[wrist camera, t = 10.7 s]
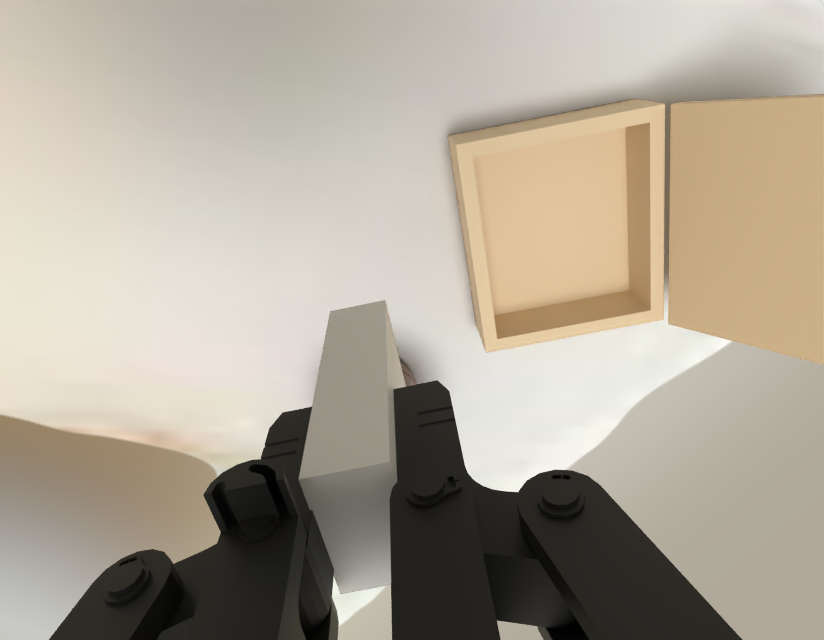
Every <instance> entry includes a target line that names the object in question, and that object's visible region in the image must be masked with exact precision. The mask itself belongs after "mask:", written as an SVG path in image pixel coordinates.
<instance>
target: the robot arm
mask: <svg viewBox="0 0 824 640" xmlns="http://www.w3.org/2000/svg"><path fill="white" fill-rule="evenodd" d="M204 497H205V499H206V501H207V504H208V506H209V508H210V510H211V512H212V514H213V516H214V519H215V521H216V523H217V525H218V527H219V529H220V531H221V534H220V537H219V540H218V543H217V544H215V545H213V546H212V547H210V548H208V549H206V550H204V551H202V552H200V553H198V554H195V555H193V556H191V557H188V558H186V559H184V560H182V561H179V562H177V563H175V564H173V563H172V561H171V559H170V558H169V557H168V556H167V555H166V554H165V552H162V551H158V550H154V549H151V550H145V551H139V552H136V553H134V554H131V555H129V556H127V557H124V558H122V559H120V560H119V561H117V562H116V563H115V564H113V565H112V566H110V567H109V568H107V569H106V570H105V571H104V572H103V573H102V574H101V575H100V576H99V577H98V578H97V579H96V580H95V581H94V582H93V583H92V585H91V586H90V587H89V589H88V590H87V591H86V592H85V594H84V595H83V597H82V598H81V599H80V600H79V602H78V603H77V604H76V606H75V607H74V608H73V609H72V611H71V612H70V613H69V614H68V616H67V617H66V618H65V620H64V621H63V622H62V623H61V625H60V626H59V627H58V629H57V630H56V631H55V633H54V634H53V635H52V636H51V638H50V639H49V640H337V637H338V616H337V610H336V607H335V605H334V602H333V599H332V587H333V576H334V577H335V580H336V583H337V586H338V588H339V591H340V594H343V593H349V592H354V591H360V590H365V589H370V588H376V587H381V586H387V585H391V599H392V640H500V635H499V631H498V625H497V620H498V621H505V622H512V623H519V624H527V625H533V626H537V627H538V630H539V632H540V634H541V636H542V637H543V639H544V640H742V639H741V638H740V637H739V636H738V635H737V634H736V632H735V631H734V630H733V629H732V628H731V627H730V626H729V625H728V624H727V623H726V622H725V621H724V620H723V618H722V617H721V616H720V615H719V614H718V613H717V612H716V611H715V610H714V609H713V607H712V606H711V605H710V604H709V603H708V602H707V601H706V600H705V599H704V598H703V597H702V596H701V594H700V593H699V592H698V591H697V590H696V589H695V588H694V587H693V586H692V585H691V584H690V582H689V581H688V580H687V579H686V578H685V577H684V576H683V575H682V574H681V573H680V572H679V571H678V570H677V568H676V567H675V566H674V565H673V564H672V563H671V562H670V561H669V560H668V559H667V558H666V556H665V555H664V554H663V553H662V552H661V551H660V550H659V549H658V548H657V547H656V546H655V544H654V543H653V542H652V541H651V540H650V539H649V538H648V537H647V536H646V535H645V534H644V533H643V531H642V530H641V529H640V528H639V527H638V526H637V525H636V524H635V523H634V522H633V521H632V520H631V518H630V517H629V516H628V515H627V514H626V513H625V512H624V511H623V510H622V509H621V508H620V506H619V505H618V504H617V503H616V502H615V501H614V500H613V499H612V498H611V497H610V496H609V495H608V493H607V492H606V491H605V490H604V489H603V488H602V487H601V486H600V485H599V484H598V483H596V482H595V481H593V480H592V479H591V478H590V477H588V476H586V475H584V474H580V473H578V472H574V471H568V470H552V471H548V472H543V473H539V474H538V475H536V476H534V477H532V478H531V479H529V480H527V481H526V483H525V484H524V485H523V486H522V488H521V489H520V490H519V492H504V491H498V490H492V489H489V488H487V487H484V486H482V485H480V484H479V483H477V482H476V481H474V480H473V479H472V478H471V477H470V475H469V474H468V473H467V470H466V468H465V465H464V460H463V455H462V450H461V446H460V441H459V436H458V431H457V426H456V421H455V417H454V412H453V407H452V402H451V397H450V393H449V391H448V390H447V389H446V388H445V387H444V386H443V385H442V384H441V383H440V382H438V381H432V382H427V383H422V384H417V385H412V386H407V387H406V385H405V381H404V376H403V372H402V368H401V364H400V360H399V355H398V351H397V347H396V343H395V339H394V335H393V330H392V326H391V322H390V318H389V314H388V309H387V305H386V301H385V300H384V301H379V302H374V303H369V304H364V305H360V306H355V307H350V308H345V309H340V310H335V311H330V315H329V320H328V326H327V331H326V336H325V342H324V347H323V352H322V358H321V363H320V368H319V373H318V379H317V384H316V389H315V395H314V400H313V405H312V407H309V408H304V409H299V410H294V411H289V412H284V413H282V414H281V415H280V416H279V418H278V419H277V420H276V421H275V422H274V424H273V425H272V426H271V427H270V428H269V432H268V435H267V439H266V442H265V448H264V449H263V452H262V456H261V459H260V460H250V461H247V462H244V463H241V464H238V465H236V466H234V467H232V468H230V469H228V470H227V471H225V472H223V473H222V474H221V475H219V476H218V477H217V478H216V479H215V480H214V481H213V482H212V483H211V484H210V485H209V487H208V488H207V490H206V492H205V493H204Z"/></svg>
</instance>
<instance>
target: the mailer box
mask: <svg viewBox="0 0 824 640" xmlns="http://www.w3.org/2000/svg"><path fill="white" fill-rule="evenodd" d="M448 141H449V148H450V154H451V161H452V168H453V174H454V181H455V188H456V194H457V201H458V207H459V214H460V221H461V227H462V234H463V241H464V247H465V254H466V261H467V267H468V274H469V281H470V287H471V294H472V300H473V307H474V314H475V320H476V326H477V329H478V332H479V334H480V337H481V340H482V343H483V346H484V348H485V351H486V353H487V352H492V351H498V350H503V349H509V348H514V347H519V346H525V345H530V344H535V343H541V342H546V341H551V340H557V339H562V338H567V337H573V336H578V335H584V334H589V333H594V332H600V331H605V330H610V329H616V328H621V327H626V326H632V325H637V324H642V323H648V322H653V321H659V320H664V187H665V104H664V103H658V102H652V101H645V100H639V99H630V100H625V101H620V102H615V103H610V104H605V105H600V106H595V107H590V108H585V109H580V110H575V111H570V112H565V113H560V114H555V115H550V116H545V117H540V118H534V119H529V120H524V121H519V122H514V123H509V124H504V125H499V126H494V127H489V128H484V129H479V130H474V131H469V132H464V133H459V134H454V135H449V136H448Z"/></svg>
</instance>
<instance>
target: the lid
mask: <svg viewBox="0 0 824 640" xmlns="http://www.w3.org/2000/svg"><path fill="white" fill-rule="evenodd" d="M668 324H670V325H674V326H678V327H682V328H686V329H690V330H693V331H697V332H701V333H705V334H709V335H712V336H716V337H720V338H724V339H728V340H731V341H735V342H739V343H743V344H747V345H750V346H754V347H758V348H762V349H766V350H770V351H773V352H778V353H781V354H785V355H789V356H793V357H796V358H800V359H804V360H808V361H811V362H816V363H819V364H823V365H824V94H814V95H796V96H778V97H759V98H741V99H723V100H705V101H687V102H676V103H674V104H671V125H670V217H669V310H668Z"/></svg>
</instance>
